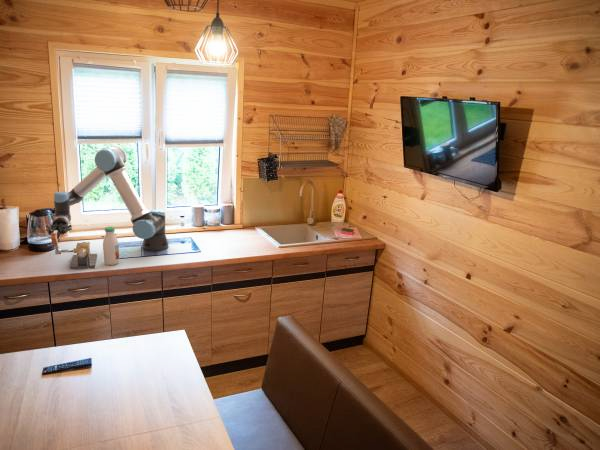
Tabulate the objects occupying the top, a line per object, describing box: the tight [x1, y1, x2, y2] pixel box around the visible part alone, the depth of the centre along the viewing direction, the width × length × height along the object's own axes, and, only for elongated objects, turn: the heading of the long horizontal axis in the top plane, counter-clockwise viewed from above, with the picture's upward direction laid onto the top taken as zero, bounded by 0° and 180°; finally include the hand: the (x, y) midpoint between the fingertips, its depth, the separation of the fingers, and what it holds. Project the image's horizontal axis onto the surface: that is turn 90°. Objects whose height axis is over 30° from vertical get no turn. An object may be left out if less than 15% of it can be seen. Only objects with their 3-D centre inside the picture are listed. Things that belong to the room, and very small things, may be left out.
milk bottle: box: [102, 226, 120, 266], centre depth 248 cm, size 8×8×20 cm
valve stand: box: [69, 241, 98, 270], centre depth 247 cm, size 12×19×10 cm, turn 20°
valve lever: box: [50, 233, 74, 255], centre depth 237 cm, size 8×3×18 cm
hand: (54, 236), depth 234 cm, fingers closed
